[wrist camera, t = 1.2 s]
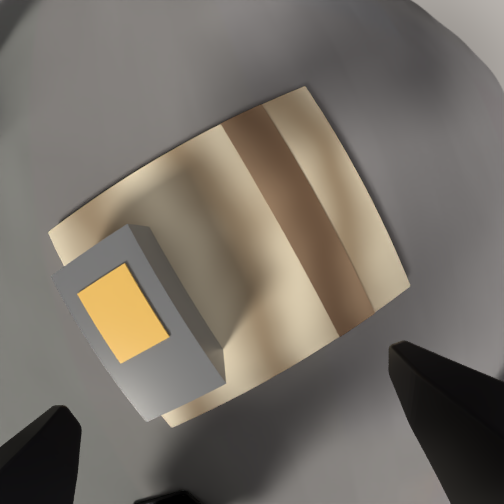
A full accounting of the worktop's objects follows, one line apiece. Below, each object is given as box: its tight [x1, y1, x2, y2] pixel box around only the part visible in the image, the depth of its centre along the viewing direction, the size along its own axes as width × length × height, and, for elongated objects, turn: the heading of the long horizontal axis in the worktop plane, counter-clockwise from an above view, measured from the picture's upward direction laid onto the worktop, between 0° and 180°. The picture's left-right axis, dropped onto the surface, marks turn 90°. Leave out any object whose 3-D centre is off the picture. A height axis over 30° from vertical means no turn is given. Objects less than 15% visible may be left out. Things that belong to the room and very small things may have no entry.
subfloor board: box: [48, 86, 410, 428], centre depth 20 cm, size 20×16×1 cm
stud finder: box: [51, 224, 226, 422], centre depth 16 cm, size 5×9×5 cm, turn 30°
